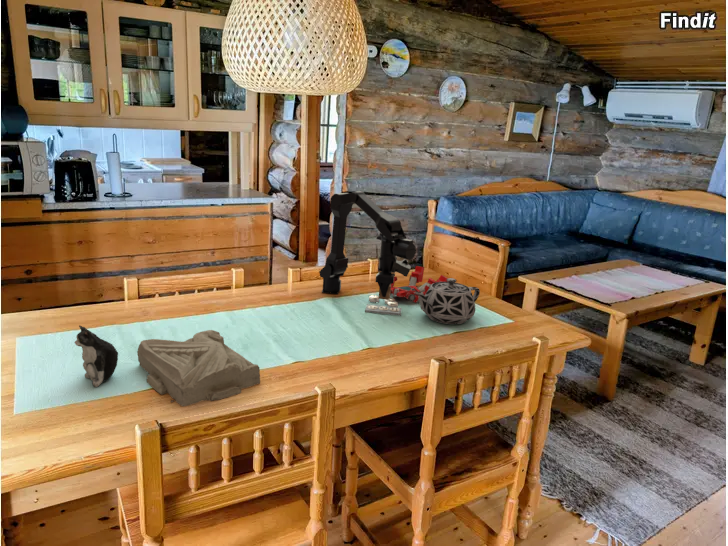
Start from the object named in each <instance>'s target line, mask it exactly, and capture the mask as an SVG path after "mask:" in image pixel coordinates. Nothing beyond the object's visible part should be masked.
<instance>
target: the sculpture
mask: <svg viewBox="0 0 728 546" xmlns="http://www.w3.org/2000/svg"><path fill="white" fill-rule="evenodd" d="M224 338H225V337H223V336H221V333H220V332H218V331H217V330H213V329H207V330H202V331H200V332H197V333H195V334H194V335H193V336H192V337H191V338H188V339H185V341H181V340H180V341H178V340H170V339H159V338H156V339H155V338H153V339H152V338H151V339H142V340H141V341H140V343H139V344H138V347H137V360H138V362H139V363H138V364H139V366H140V367H141V368H142V369H143V370H145V372H147V374H148V375H147V376H146V382H147V383H148V385H149V386H151V387H152V388H153V390H154V391H156V392H157V393H158V394H160V395H165V394H169V396H170V397H171V398H172V399H170V403H174V402H176V403H177V404H179V405H180V406H181V407H187V406H191V405H194V404H198V403H200V402H203V401H205V402H206V401H210V402H212V401H218V400H223V399H226V398H229V397H233V396H236V395H238V394H242V390H243V389H247V388H251V387H252V386H256V385H259V384H261V375H260V374H261V373H260V367H259V365H258V364H254V363H253V362H251V361H249V360H248V359H246V358H245V357H244V356H243V355H241V354H240V353H238V352H237V351H235V350H234V349H232V348H230V347H229V346H228V345H227V344H225V340H224Z"/></svg>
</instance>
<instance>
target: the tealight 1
mask: <svg viewBox="0 0 728 546" xmlns="http://www.w3.org/2000/svg"><path fill="white" fill-rule="evenodd" d="M369 301H370V303H372V302H375V303H374V304H377V303H376V302H378V303H379V302H380V299H379V295H375V294H372V295H369V297H368V302H369Z"/></svg>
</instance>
